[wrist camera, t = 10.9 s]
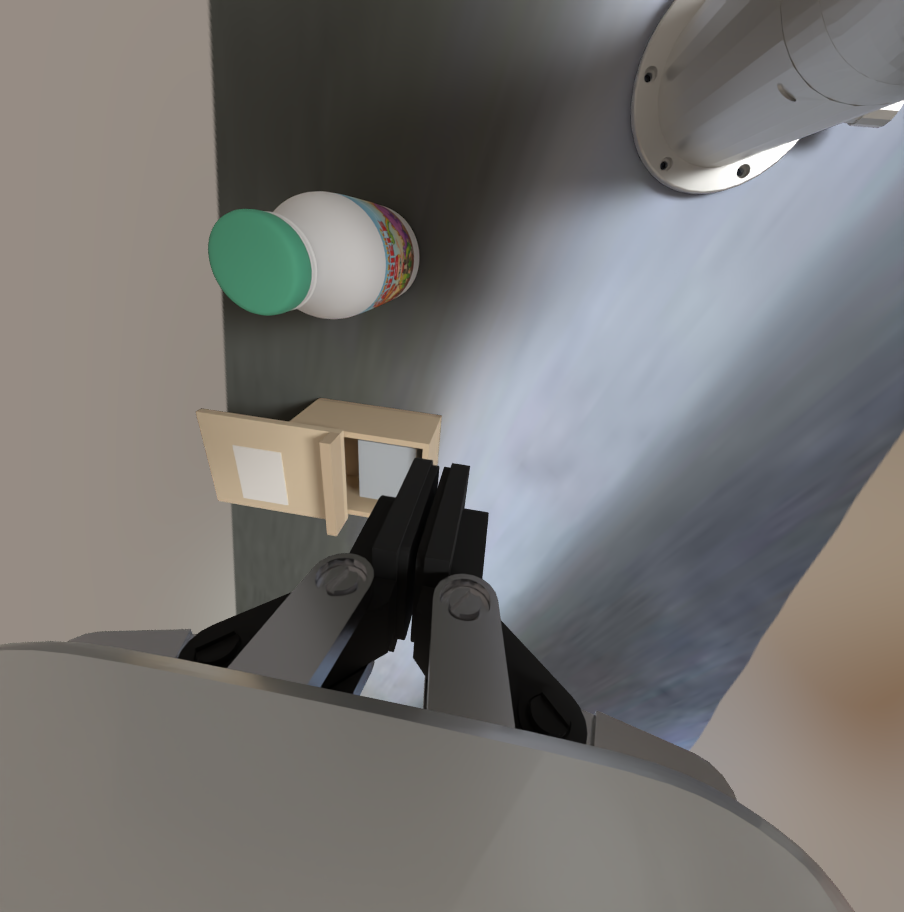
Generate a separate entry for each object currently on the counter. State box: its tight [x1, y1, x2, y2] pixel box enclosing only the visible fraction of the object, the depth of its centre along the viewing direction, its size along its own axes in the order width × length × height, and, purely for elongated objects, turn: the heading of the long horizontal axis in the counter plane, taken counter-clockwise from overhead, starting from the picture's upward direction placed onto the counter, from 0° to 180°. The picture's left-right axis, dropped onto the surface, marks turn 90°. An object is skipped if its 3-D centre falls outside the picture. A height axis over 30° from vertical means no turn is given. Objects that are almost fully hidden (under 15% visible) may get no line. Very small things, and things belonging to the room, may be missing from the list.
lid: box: [196, 409, 348, 536], centre depth 38 cm, size 14×11×3 cm
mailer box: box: [289, 398, 442, 517], centre depth 42 cm, size 14×10×7 cm
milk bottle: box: [208, 191, 419, 319], centre depth 27 cm, size 8×8×20 cm
